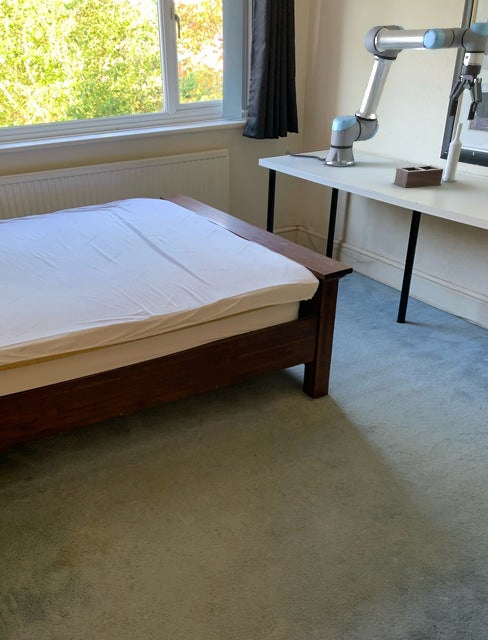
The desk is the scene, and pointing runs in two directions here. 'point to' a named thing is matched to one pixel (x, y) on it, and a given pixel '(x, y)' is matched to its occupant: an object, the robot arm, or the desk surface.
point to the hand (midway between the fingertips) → (461, 118)
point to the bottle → (453, 156)
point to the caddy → (418, 176)
